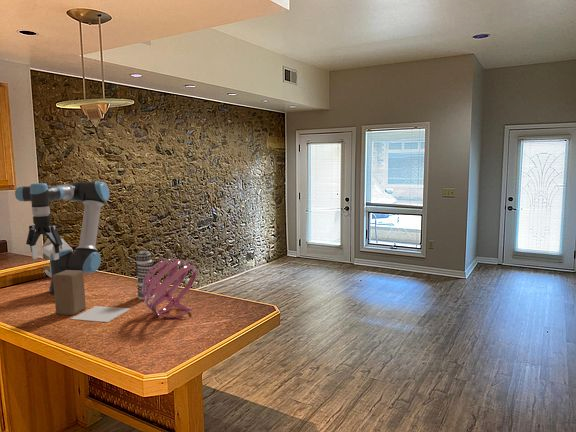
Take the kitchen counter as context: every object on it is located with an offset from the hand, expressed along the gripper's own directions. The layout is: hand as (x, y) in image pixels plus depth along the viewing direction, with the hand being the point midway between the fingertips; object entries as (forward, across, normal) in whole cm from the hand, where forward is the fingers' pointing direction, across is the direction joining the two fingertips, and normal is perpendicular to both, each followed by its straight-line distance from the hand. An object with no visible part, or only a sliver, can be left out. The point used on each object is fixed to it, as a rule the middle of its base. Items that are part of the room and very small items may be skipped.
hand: (45, 259), depth 215 cm
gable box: (+27, -49, +61) cm, 83 cm away
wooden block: (+26, +12, 0) cm, 29 cm away
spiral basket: (+26, +62, +8) cm, 68 cm away
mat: (+26, +29, 0) cm, 39 cm away
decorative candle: (+26, +36, +28) cm, 53 cm away
